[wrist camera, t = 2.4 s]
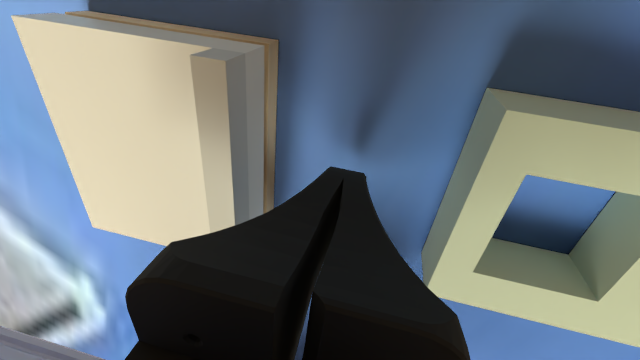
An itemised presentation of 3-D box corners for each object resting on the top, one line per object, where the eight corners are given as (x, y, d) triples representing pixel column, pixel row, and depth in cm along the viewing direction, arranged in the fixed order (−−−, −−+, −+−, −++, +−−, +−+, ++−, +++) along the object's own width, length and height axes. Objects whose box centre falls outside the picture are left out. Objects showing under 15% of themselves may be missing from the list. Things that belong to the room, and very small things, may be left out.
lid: (263, 244, 15) (238, 289, 13) (116, 208, 16) (70, 244, 14) (264, 45, 10) (225, 61, 8) (54, 13, 11) (-33, 18, 9)
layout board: (273, 226, 16) (265, 241, 15) (136, 194, 17) (120, 205, 16) (278, 39, 11) (267, 44, 10) (87, 10, 12) (60, 12, 11)
